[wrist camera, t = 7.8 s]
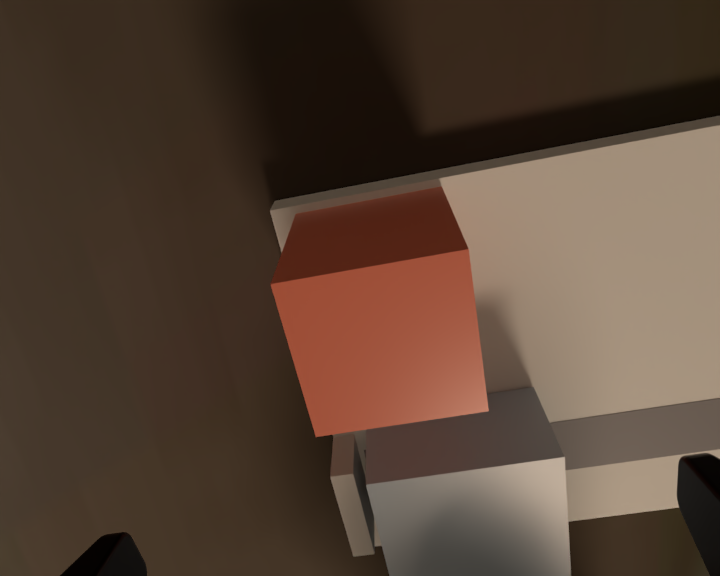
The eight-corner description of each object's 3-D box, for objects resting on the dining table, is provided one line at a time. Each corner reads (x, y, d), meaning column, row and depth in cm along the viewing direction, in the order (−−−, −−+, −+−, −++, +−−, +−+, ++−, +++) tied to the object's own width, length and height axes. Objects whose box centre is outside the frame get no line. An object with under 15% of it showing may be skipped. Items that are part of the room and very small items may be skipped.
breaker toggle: (533, 386, 20) (564, 457, 17) (543, 509, 22) (571, 589, 19) (366, 412, 20) (365, 484, 17) (394, 528, 23) (398, 610, 20)
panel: (872, 86, 16) (970, 100, 14) (801, 470, 23) (859, 531, 20) (274, 200, 18) (258, 233, 16) (364, 528, 25) (363, 591, 22)
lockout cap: (441, 186, 17) (468, 249, 12) (459, 315, 19) (488, 411, 14) (295, 213, 17) (270, 284, 13) (327, 337, 19) (315, 436, 15)
